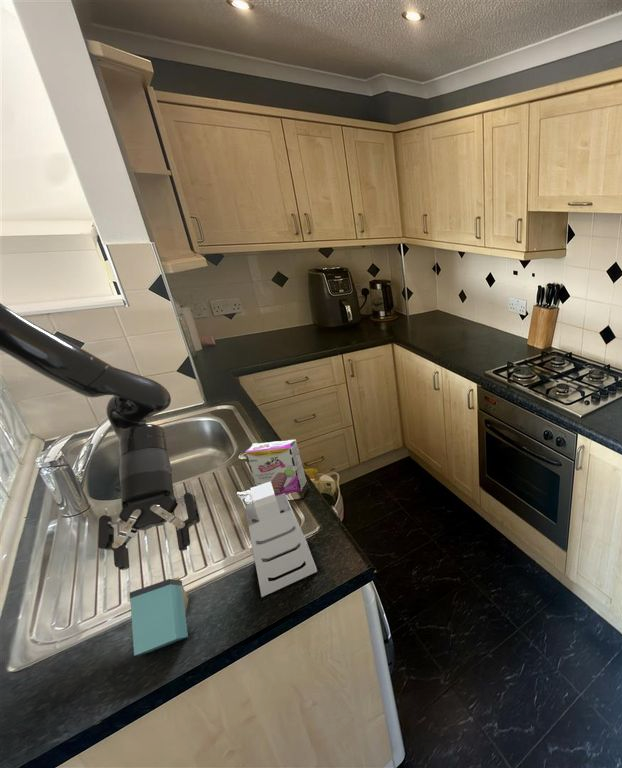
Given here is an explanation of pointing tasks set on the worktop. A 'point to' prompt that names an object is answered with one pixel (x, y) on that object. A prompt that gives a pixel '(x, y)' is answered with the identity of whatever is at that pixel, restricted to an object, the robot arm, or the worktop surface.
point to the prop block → (184, 596)
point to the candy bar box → (277, 465)
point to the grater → (276, 540)
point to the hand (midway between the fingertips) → (154, 559)
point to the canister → (157, 616)
